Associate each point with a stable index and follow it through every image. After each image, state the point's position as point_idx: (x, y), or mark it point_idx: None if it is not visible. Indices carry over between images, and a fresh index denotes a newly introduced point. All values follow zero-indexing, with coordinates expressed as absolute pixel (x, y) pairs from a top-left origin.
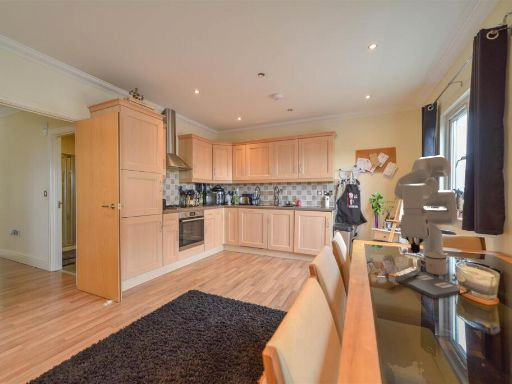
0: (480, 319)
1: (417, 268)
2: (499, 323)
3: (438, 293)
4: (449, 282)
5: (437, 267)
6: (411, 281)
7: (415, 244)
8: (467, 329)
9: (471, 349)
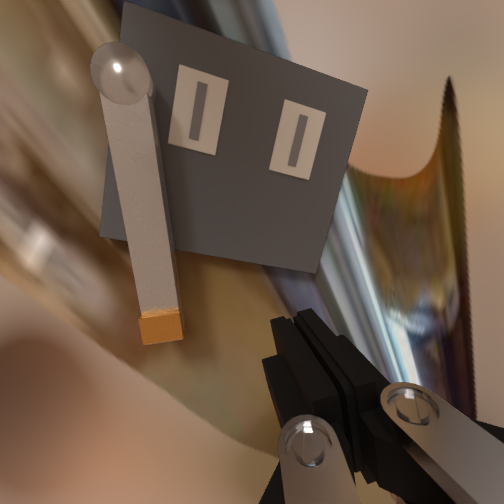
0: (426, 285)
1: (143, 87)
2: (456, 266)
3: (319, 248)
4: (295, 75)
5: None
6: (192, 220)
7: (372, 467)
8: (417, 355)
9: None
